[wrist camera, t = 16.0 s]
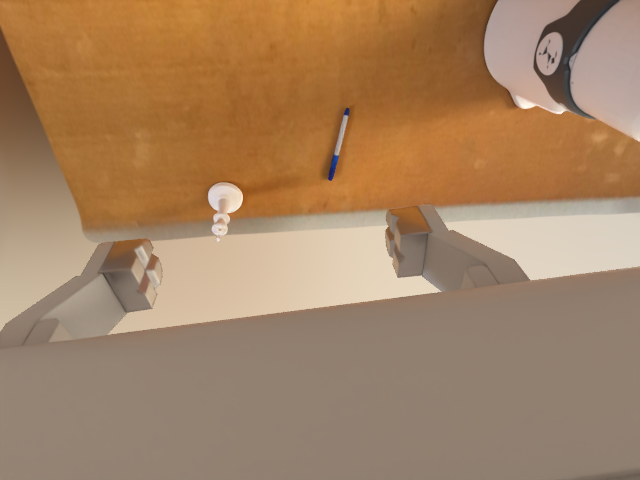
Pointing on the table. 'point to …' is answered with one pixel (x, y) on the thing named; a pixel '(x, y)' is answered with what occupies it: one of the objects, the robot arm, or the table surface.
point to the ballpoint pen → (338, 144)
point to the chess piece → (223, 205)
